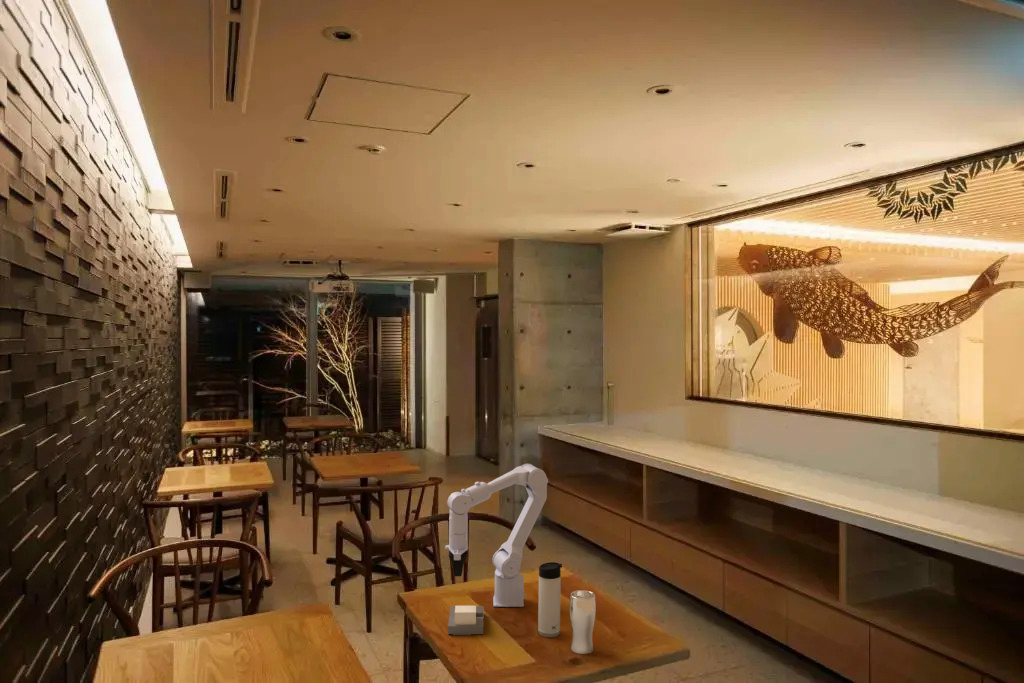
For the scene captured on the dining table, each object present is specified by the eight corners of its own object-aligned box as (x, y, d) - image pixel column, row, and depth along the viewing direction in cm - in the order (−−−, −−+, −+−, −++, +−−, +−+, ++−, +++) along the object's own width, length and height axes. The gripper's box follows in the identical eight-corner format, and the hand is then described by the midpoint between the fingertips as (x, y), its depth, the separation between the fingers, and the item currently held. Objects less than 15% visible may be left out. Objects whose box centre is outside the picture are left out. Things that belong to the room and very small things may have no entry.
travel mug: (559, 638, 197) (560, 568, 197) (536, 636, 199) (537, 566, 198) (562, 629, 204) (563, 561, 203) (540, 627, 205) (540, 559, 204)
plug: (482, 624, 205) (482, 605, 205) (482, 631, 201) (482, 612, 200) (455, 624, 205) (455, 605, 205) (454, 631, 200) (454, 612, 200)
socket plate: (483, 614, 213) (483, 606, 213) (483, 634, 200) (483, 626, 199) (450, 614, 213) (450, 606, 213) (447, 635, 199) (447, 626, 199)
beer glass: (578, 640, 196) (579, 587, 196) (599, 648, 192) (600, 594, 191) (564, 649, 191) (565, 595, 190) (585, 657, 187) (586, 601, 186)
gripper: (446, 525, 224) (446, 567, 224) (443, 539, 209) (443, 584, 210) (468, 525, 224) (468, 567, 224) (467, 539, 209) (467, 584, 210)
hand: (458, 575), depth 217 cm, fingers closed
